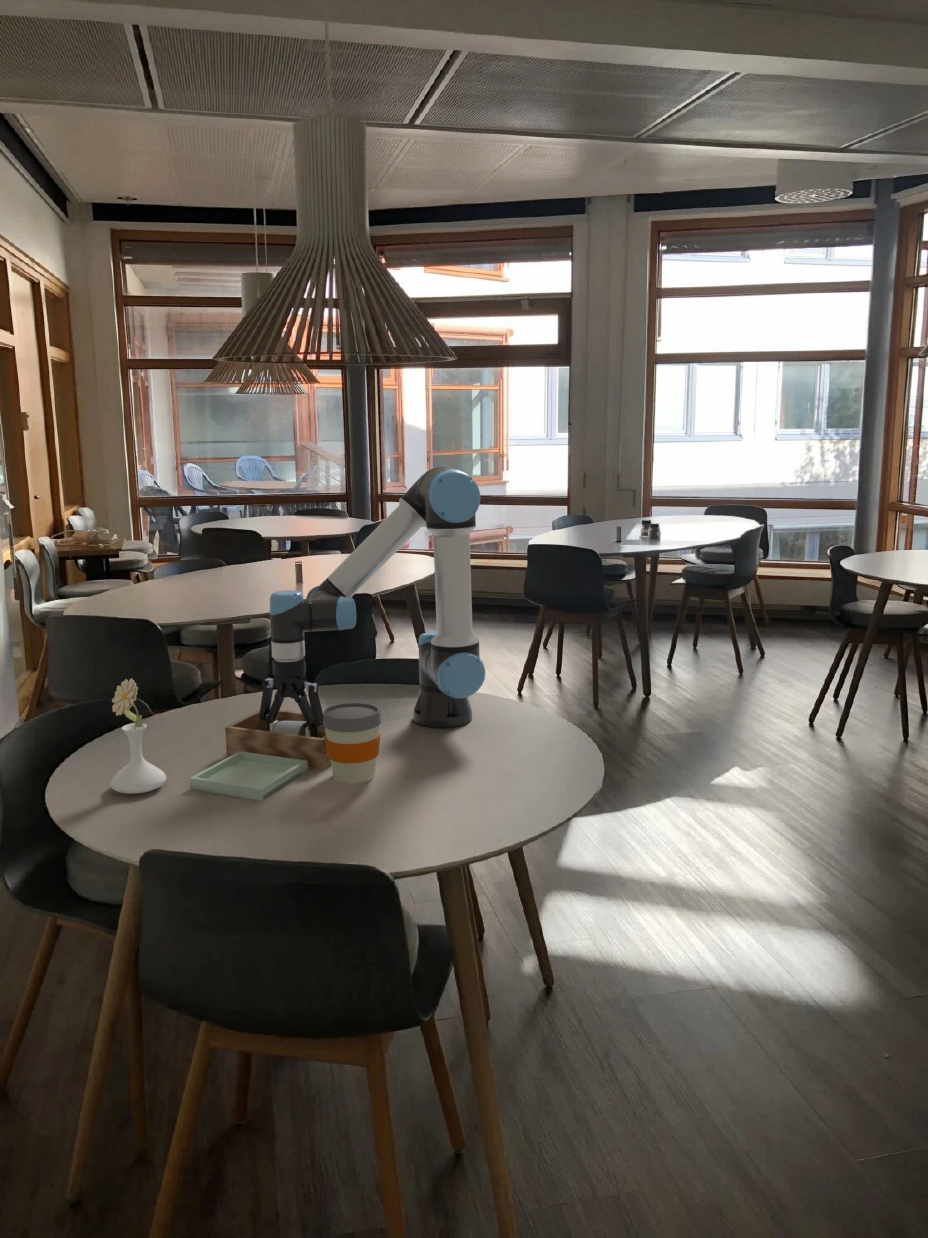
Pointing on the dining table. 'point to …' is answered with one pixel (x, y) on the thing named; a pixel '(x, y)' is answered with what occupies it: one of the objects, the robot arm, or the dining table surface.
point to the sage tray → (249, 775)
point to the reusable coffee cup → (352, 741)
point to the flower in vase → (134, 747)
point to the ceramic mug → (291, 727)
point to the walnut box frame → (277, 740)
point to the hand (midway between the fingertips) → (293, 751)
